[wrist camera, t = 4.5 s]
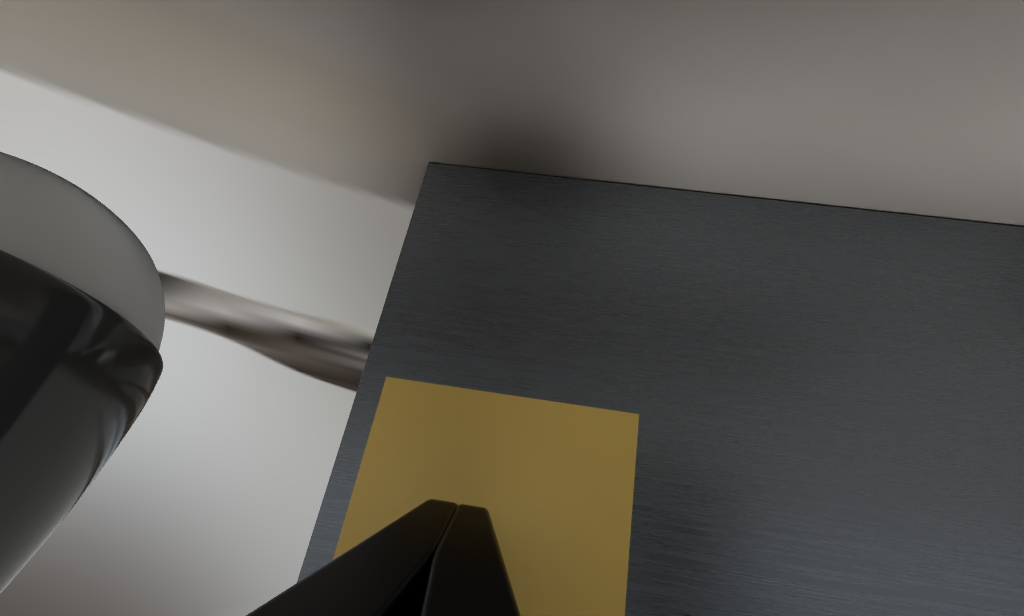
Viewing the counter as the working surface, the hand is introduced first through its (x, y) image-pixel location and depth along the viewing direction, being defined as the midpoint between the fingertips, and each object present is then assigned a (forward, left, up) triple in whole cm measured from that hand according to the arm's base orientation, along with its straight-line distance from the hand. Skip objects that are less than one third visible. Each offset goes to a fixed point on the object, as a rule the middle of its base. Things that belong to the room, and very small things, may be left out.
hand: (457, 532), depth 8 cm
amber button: (+1, +3, -2) cm, 3 cm away
